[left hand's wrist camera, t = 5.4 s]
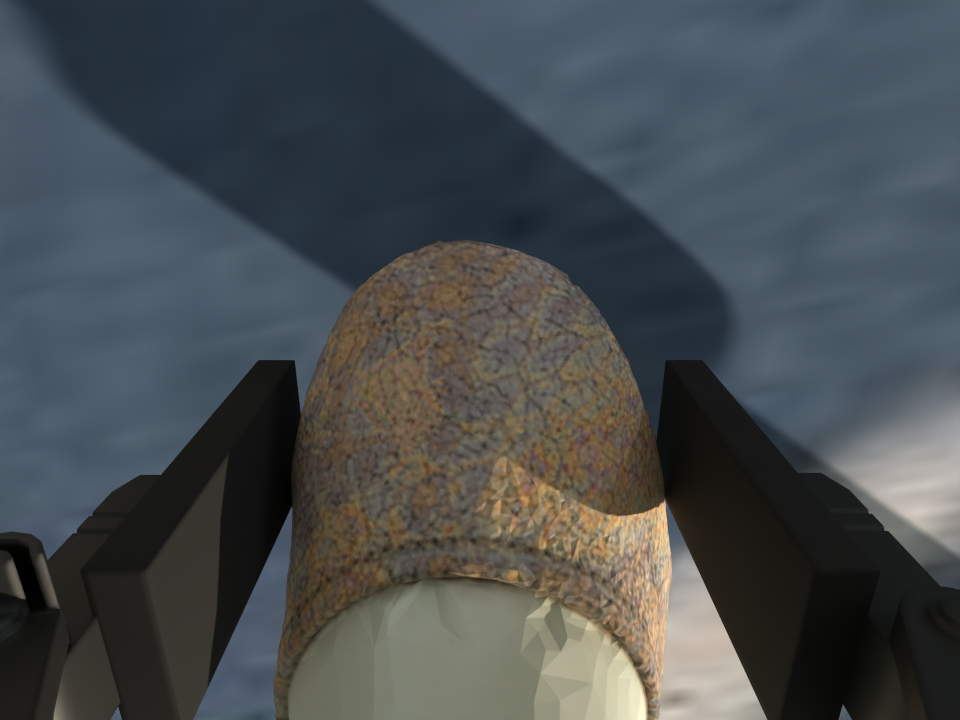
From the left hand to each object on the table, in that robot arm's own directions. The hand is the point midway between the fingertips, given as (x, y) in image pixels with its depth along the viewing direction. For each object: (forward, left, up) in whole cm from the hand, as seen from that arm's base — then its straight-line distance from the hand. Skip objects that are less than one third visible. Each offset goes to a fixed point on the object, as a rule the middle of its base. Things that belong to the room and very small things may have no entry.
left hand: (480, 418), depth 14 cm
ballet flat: (+2, +8, 0) cm, 8 cm away
